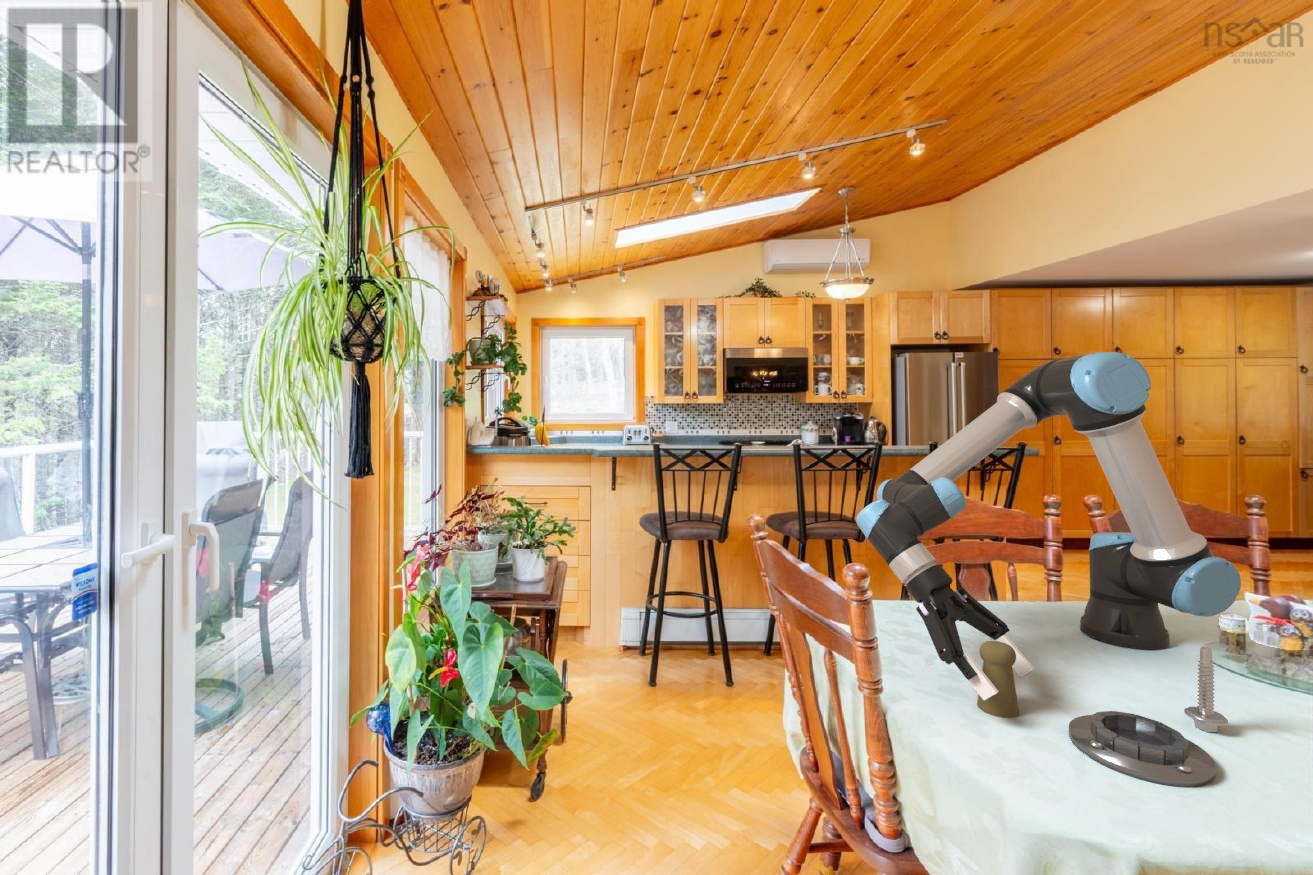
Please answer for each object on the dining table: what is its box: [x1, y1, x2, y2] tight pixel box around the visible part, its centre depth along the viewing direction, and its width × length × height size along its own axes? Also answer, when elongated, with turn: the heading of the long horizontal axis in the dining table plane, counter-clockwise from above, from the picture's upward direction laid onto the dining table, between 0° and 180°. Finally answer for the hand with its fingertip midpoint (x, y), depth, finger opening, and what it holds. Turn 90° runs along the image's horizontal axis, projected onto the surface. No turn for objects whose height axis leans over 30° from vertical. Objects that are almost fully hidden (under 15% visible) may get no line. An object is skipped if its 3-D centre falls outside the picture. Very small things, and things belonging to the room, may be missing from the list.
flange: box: [1068, 710, 1216, 788], centre depth 81 cm, size 16×16×3 cm
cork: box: [976, 640, 1020, 719], centre depth 94 cm, size 6×6×11 cm
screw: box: [1183, 645, 1229, 733], centre depth 87 cm, size 13×5×5 cm
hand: (1010, 684), depth 92 cm, fingers open, 13 cm apart
